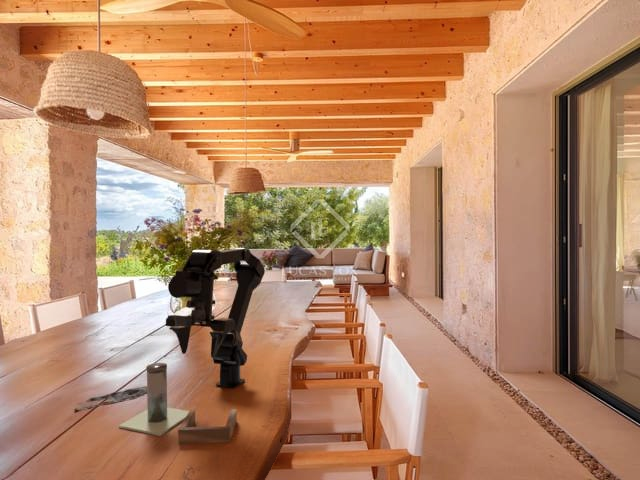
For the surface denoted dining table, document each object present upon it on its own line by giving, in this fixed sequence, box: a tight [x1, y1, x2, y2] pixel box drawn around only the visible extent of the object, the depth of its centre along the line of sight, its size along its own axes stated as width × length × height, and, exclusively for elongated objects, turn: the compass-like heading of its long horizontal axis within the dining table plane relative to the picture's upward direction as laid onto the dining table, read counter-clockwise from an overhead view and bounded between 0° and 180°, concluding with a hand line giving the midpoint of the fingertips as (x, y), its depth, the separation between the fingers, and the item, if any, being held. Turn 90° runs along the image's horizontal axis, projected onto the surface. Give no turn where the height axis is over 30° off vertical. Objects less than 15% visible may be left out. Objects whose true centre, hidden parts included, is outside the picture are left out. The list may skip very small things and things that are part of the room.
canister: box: [146, 362, 168, 423], centre depth 105 cm, size 5×5×13 cm
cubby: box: [177, 408, 238, 444], centre depth 99 cm, size 10×11×3 cm
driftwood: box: [74, 385, 147, 411], centre depth 118 cm, size 21×7×2 cm, turn 125°
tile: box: [118, 406, 190, 437], centre depth 105 cm, size 12×12×1 cm
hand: (198, 355), depth 114 cm, fingers open, 9 cm apart
